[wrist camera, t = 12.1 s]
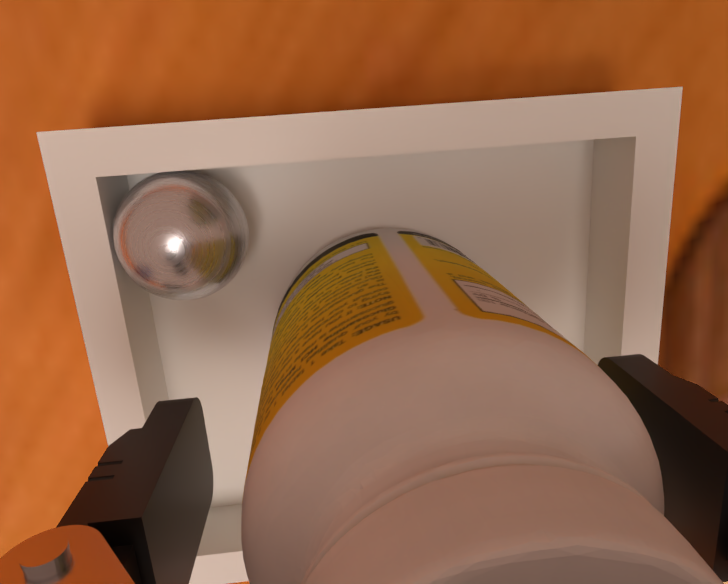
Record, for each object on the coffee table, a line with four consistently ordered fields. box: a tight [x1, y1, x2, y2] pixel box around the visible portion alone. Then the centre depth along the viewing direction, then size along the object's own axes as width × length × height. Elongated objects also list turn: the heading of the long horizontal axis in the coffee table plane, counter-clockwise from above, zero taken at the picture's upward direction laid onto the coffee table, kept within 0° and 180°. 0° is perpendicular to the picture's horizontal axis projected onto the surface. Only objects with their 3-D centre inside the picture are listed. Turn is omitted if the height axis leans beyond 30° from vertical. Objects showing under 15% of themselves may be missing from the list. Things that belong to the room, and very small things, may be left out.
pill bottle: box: [241, 228, 724, 584], centre depth 10 cm, size 6×6×11 cm
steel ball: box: [113, 170, 249, 301], centre depth 13 cm, size 3×3×3 cm
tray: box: [36, 87, 683, 584], centre depth 15 cm, size 14×12×3 cm
